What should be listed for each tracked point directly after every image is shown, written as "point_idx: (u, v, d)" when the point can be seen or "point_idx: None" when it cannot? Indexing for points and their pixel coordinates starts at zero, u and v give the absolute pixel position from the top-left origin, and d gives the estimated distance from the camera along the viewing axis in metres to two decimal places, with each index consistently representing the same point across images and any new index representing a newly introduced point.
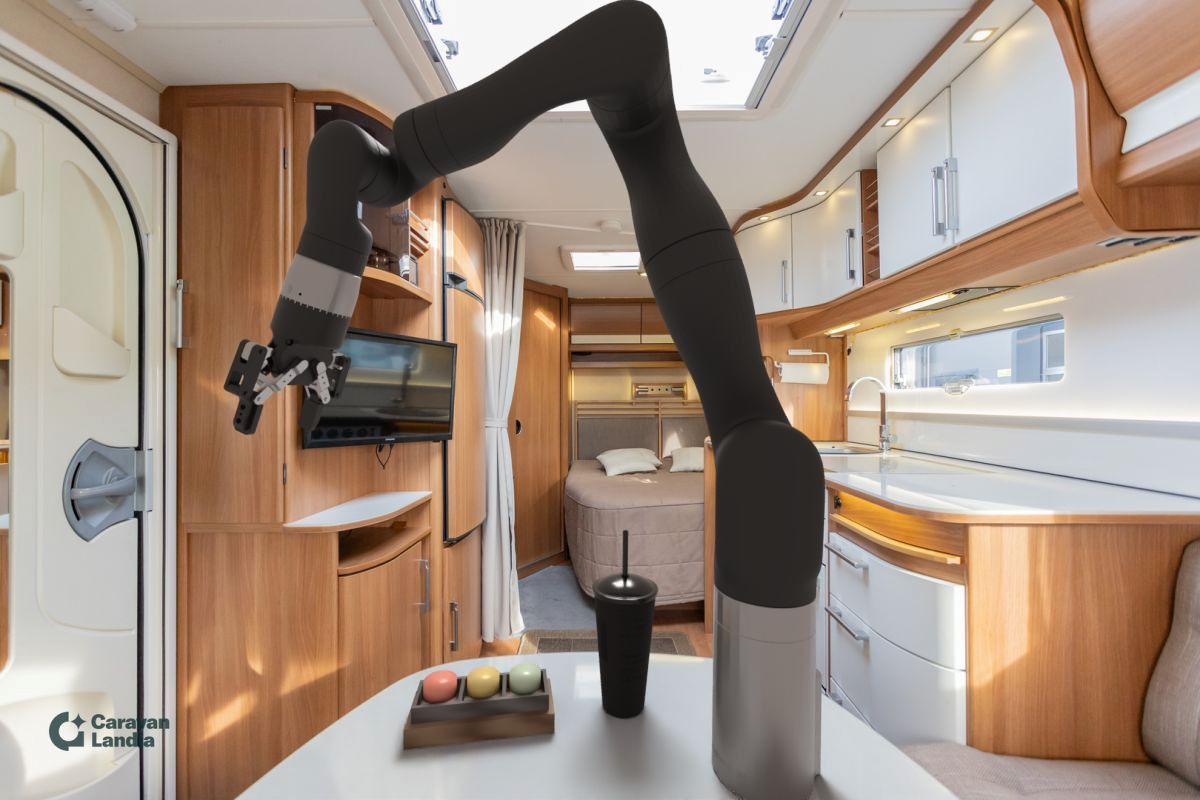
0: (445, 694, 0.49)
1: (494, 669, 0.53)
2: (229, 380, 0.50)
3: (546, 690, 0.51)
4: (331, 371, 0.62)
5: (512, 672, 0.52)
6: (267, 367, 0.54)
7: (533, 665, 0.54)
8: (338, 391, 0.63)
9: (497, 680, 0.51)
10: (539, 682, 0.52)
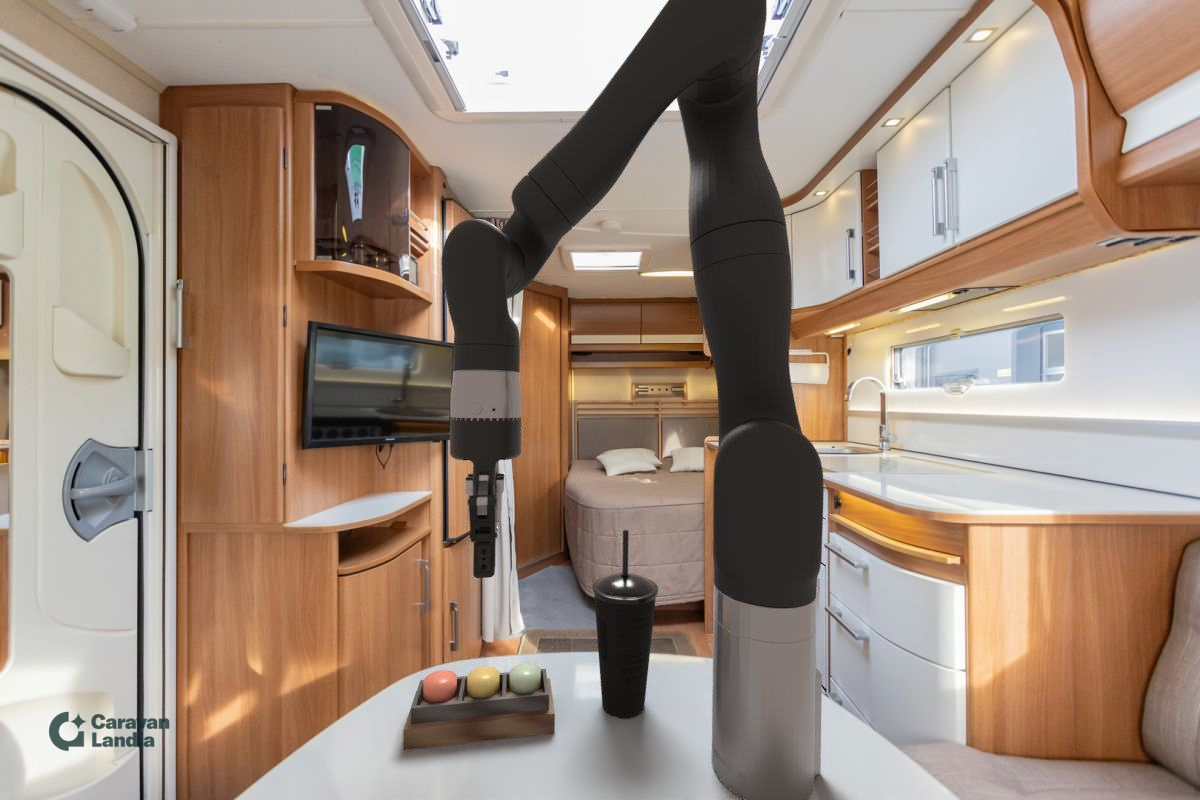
0: (445, 694, 0.49)
1: (494, 669, 0.53)
2: (475, 534, 0.47)
3: (546, 690, 0.51)
4: None
5: (512, 672, 0.52)
6: None
7: (533, 665, 0.54)
8: None
9: (497, 680, 0.51)
10: (539, 682, 0.52)
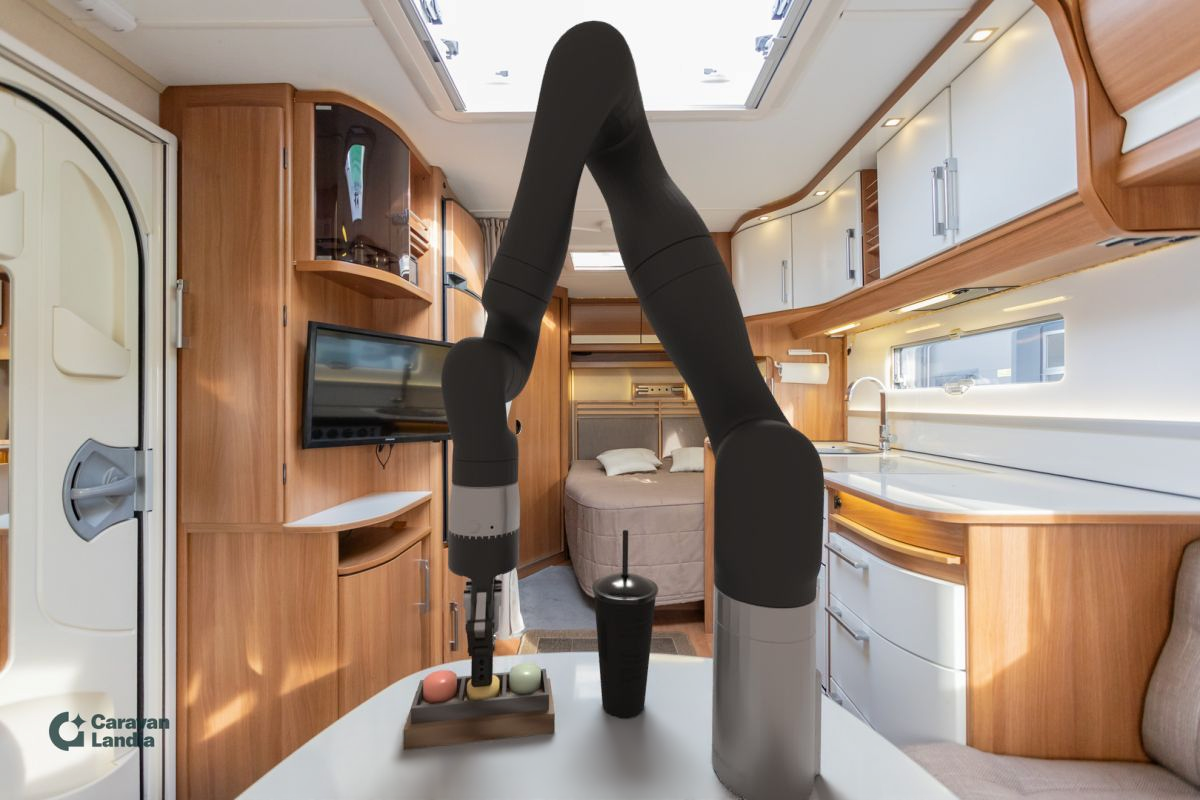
0: (445, 694, 0.49)
1: (494, 677, 0.53)
2: (473, 651, 0.48)
3: (546, 690, 0.51)
4: None
5: (512, 672, 0.52)
6: None
7: (533, 665, 0.54)
8: None
9: (497, 688, 0.51)
10: (539, 682, 0.52)
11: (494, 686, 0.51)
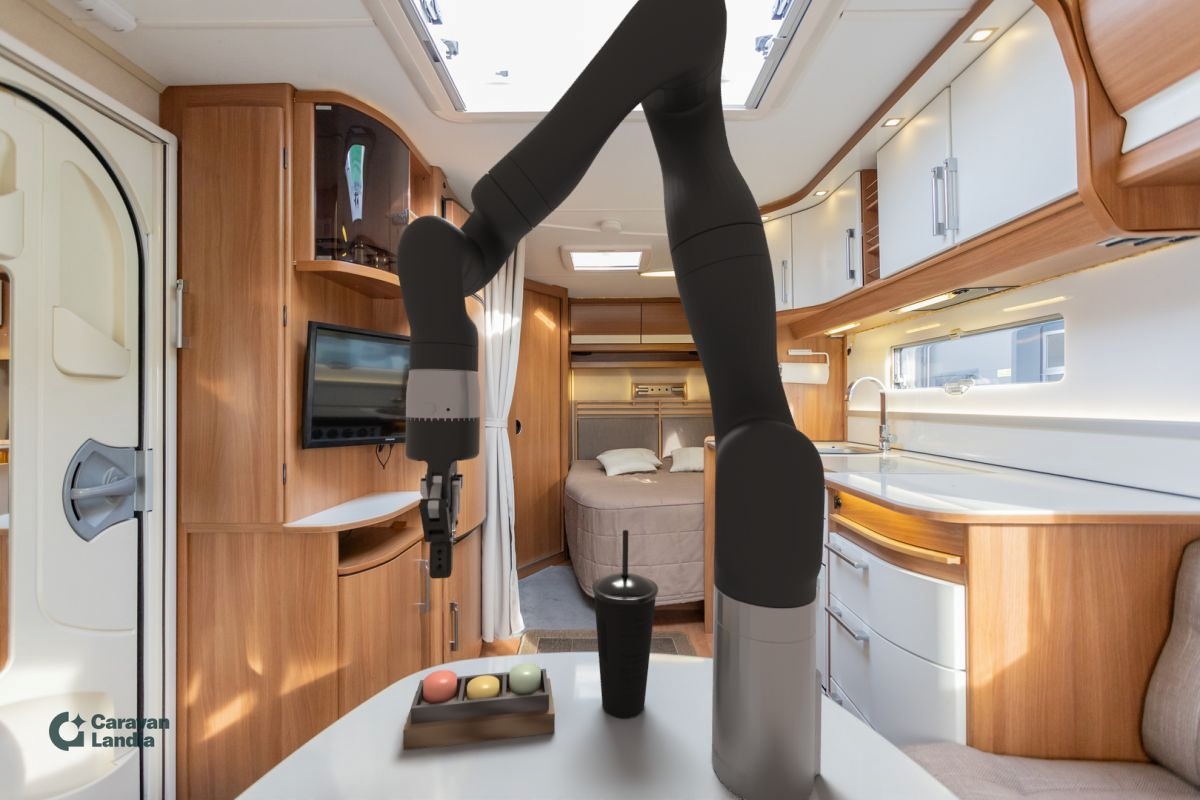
0: (445, 694, 0.49)
1: (494, 678, 0.53)
2: (429, 536, 0.47)
3: (546, 690, 0.51)
4: None
5: (512, 672, 0.52)
6: None
7: (533, 665, 0.54)
8: None
9: (497, 689, 0.51)
10: (539, 682, 0.52)
11: (494, 688, 0.51)
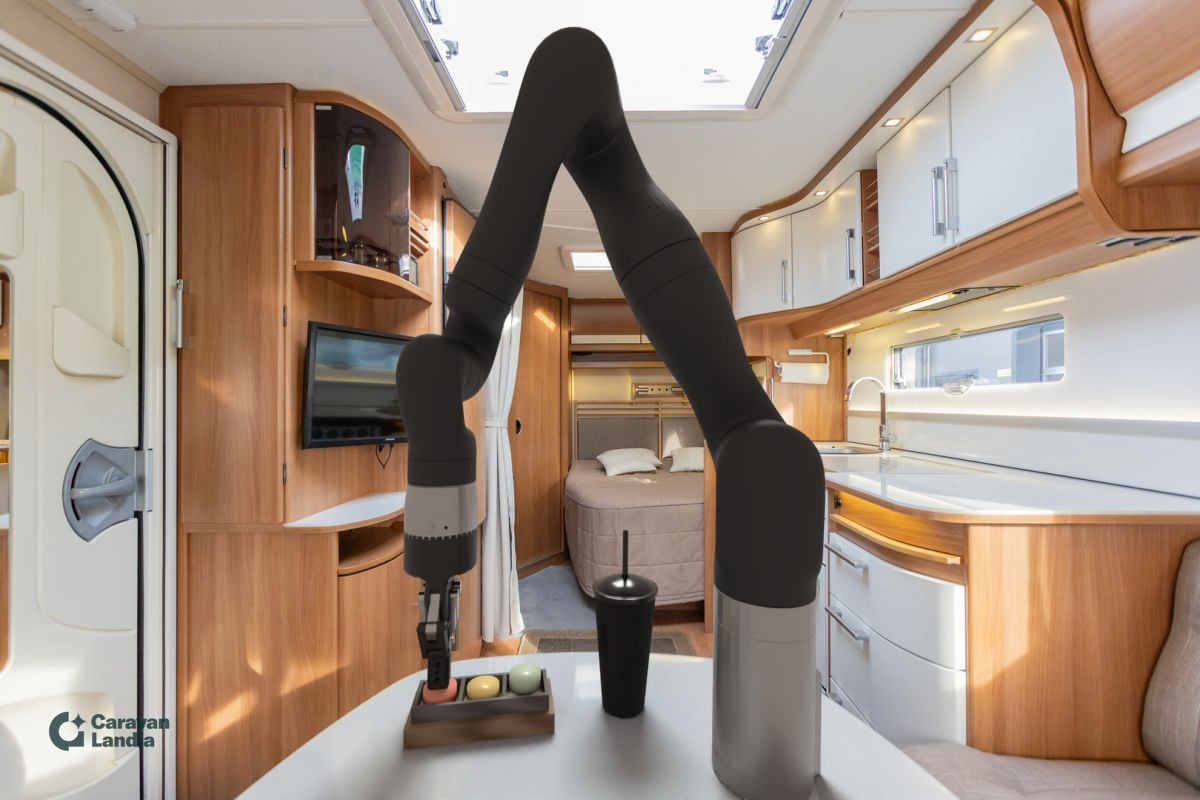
0: (445, 701, 0.49)
1: (494, 678, 0.53)
2: (426, 654, 0.47)
3: (546, 690, 0.51)
4: None
5: (512, 672, 0.52)
6: (426, 617, 0.49)
7: (533, 665, 0.54)
8: None
9: (497, 689, 0.51)
10: (539, 682, 0.52)
11: (494, 688, 0.51)
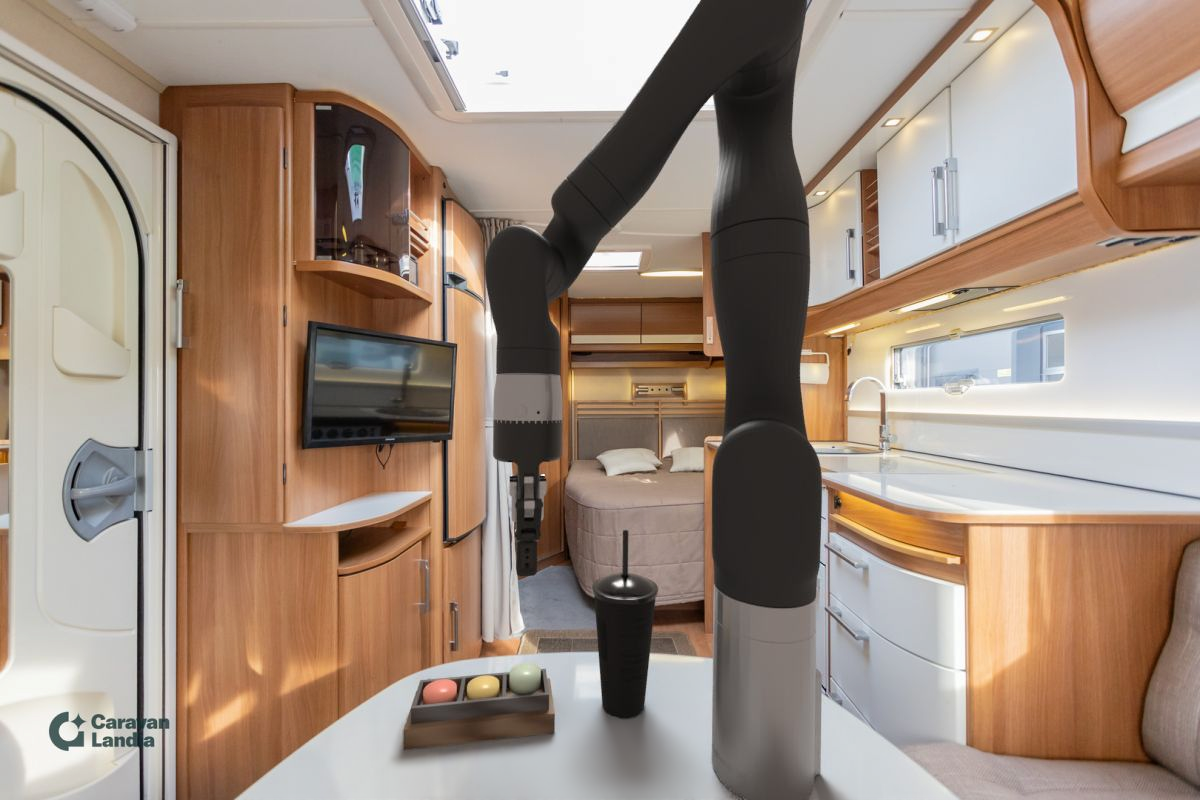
0: None
1: (494, 678, 0.53)
2: (520, 534, 0.49)
3: (546, 690, 0.51)
4: None
5: (512, 672, 0.52)
6: None
7: (533, 665, 0.54)
8: None
9: (497, 689, 0.51)
10: (539, 682, 0.52)
11: (494, 688, 0.51)
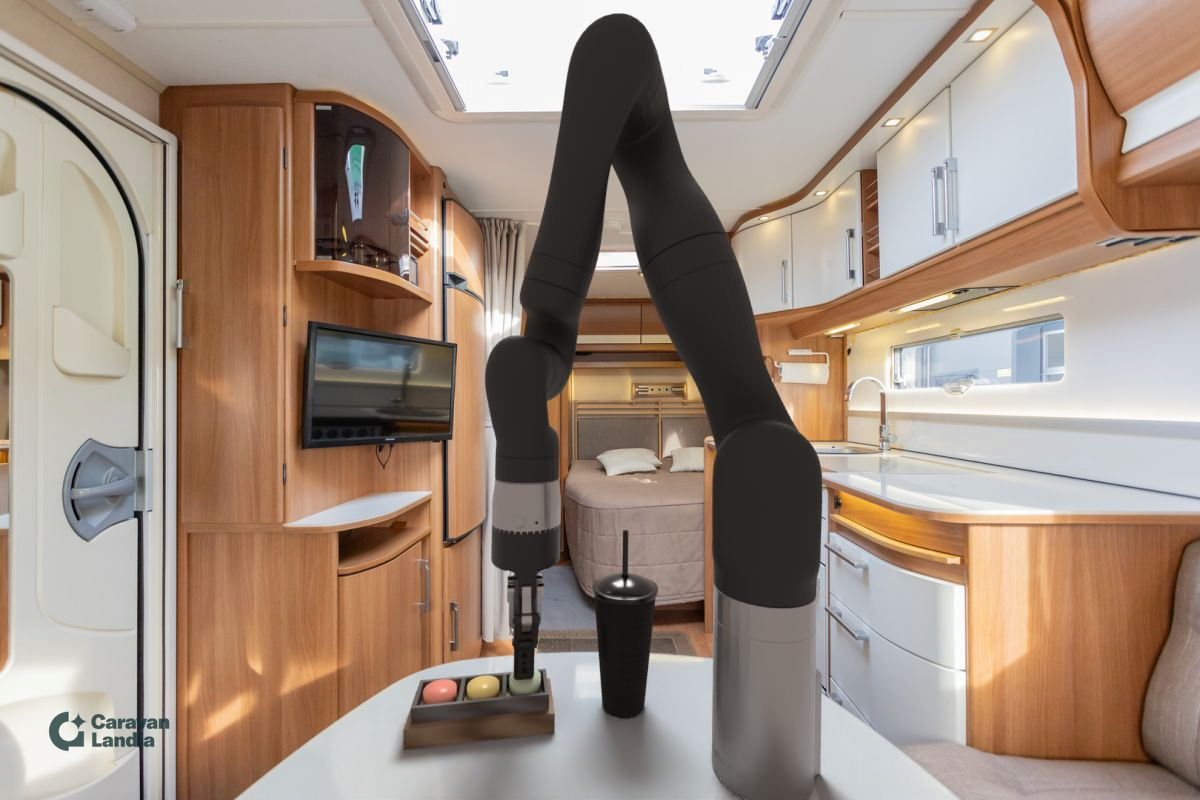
0: None
1: (494, 678, 0.53)
2: (518, 645, 0.49)
3: (546, 690, 0.51)
4: None
5: (512, 677, 0.52)
6: (514, 609, 0.51)
7: None
8: None
9: (497, 689, 0.51)
10: (539, 687, 0.52)
11: (494, 688, 0.51)
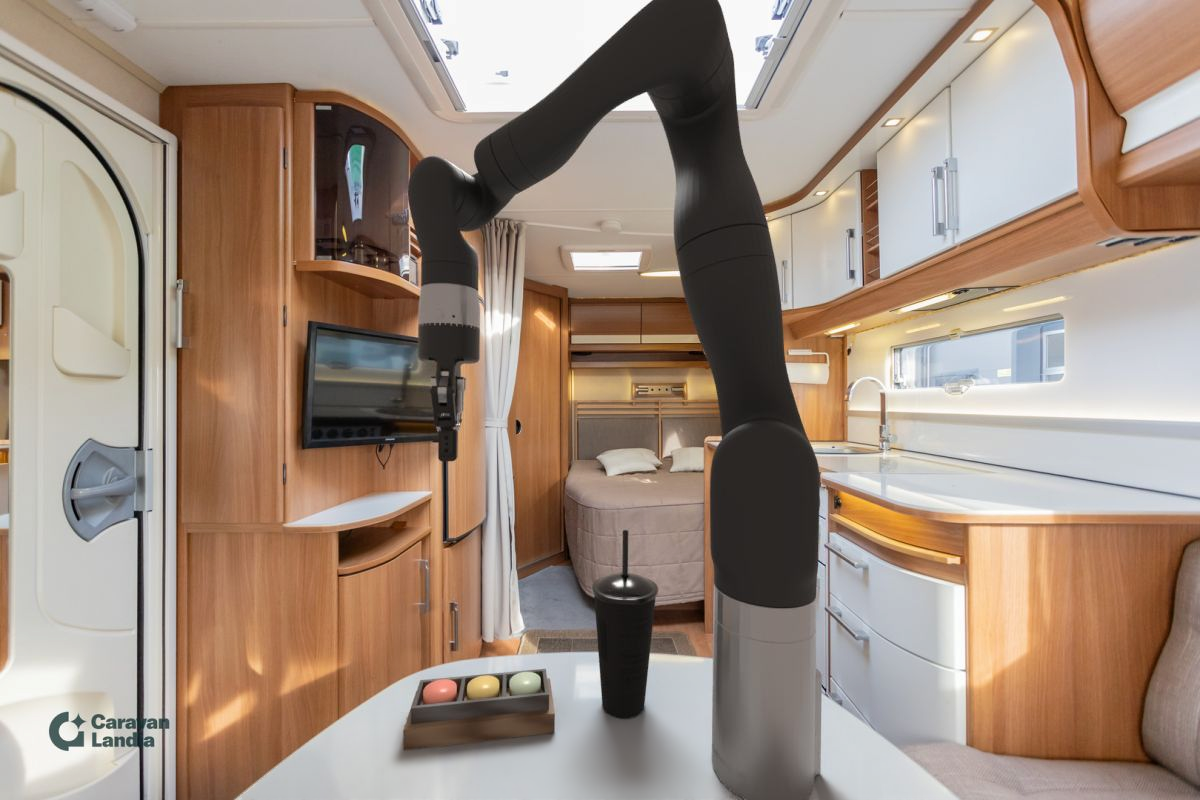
0: None
1: (494, 678, 0.53)
2: (438, 420, 0.57)
3: (546, 690, 0.51)
4: None
5: (512, 681, 0.52)
6: None
7: (533, 674, 0.54)
8: (460, 416, 0.63)
9: (497, 689, 0.51)
10: (539, 691, 0.52)
11: (494, 688, 0.51)
